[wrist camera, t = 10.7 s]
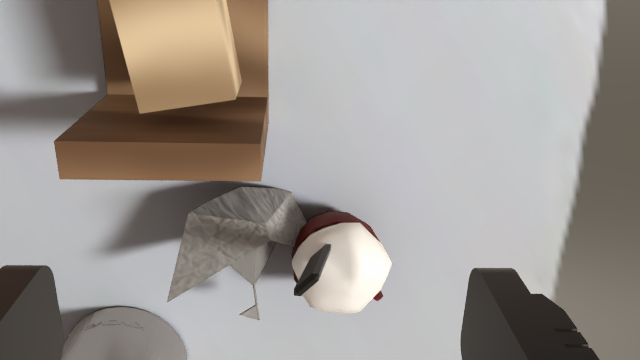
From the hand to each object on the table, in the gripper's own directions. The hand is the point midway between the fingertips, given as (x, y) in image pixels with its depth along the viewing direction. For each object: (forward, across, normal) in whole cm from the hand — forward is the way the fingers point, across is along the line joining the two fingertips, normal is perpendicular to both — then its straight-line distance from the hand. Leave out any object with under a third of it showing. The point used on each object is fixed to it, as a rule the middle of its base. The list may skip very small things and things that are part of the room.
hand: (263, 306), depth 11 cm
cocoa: (+28, -3, +13) cm, 31 cm away
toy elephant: (+28, +3, +13) cm, 31 cm away
